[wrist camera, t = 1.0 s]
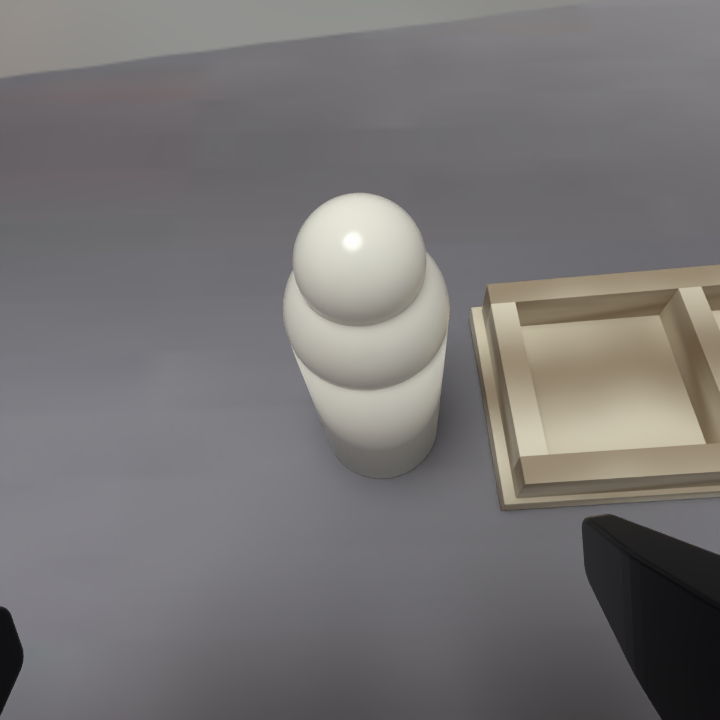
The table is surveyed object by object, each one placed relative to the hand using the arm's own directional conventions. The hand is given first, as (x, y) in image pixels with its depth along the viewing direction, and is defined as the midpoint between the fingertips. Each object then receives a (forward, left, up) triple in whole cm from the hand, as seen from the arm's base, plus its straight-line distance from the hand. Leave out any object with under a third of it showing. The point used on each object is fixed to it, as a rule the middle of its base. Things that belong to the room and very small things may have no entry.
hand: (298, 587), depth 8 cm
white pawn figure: (+8, -1, -13) cm, 15 cm away
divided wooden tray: (+8, -14, -13) cm, 21 cm away
